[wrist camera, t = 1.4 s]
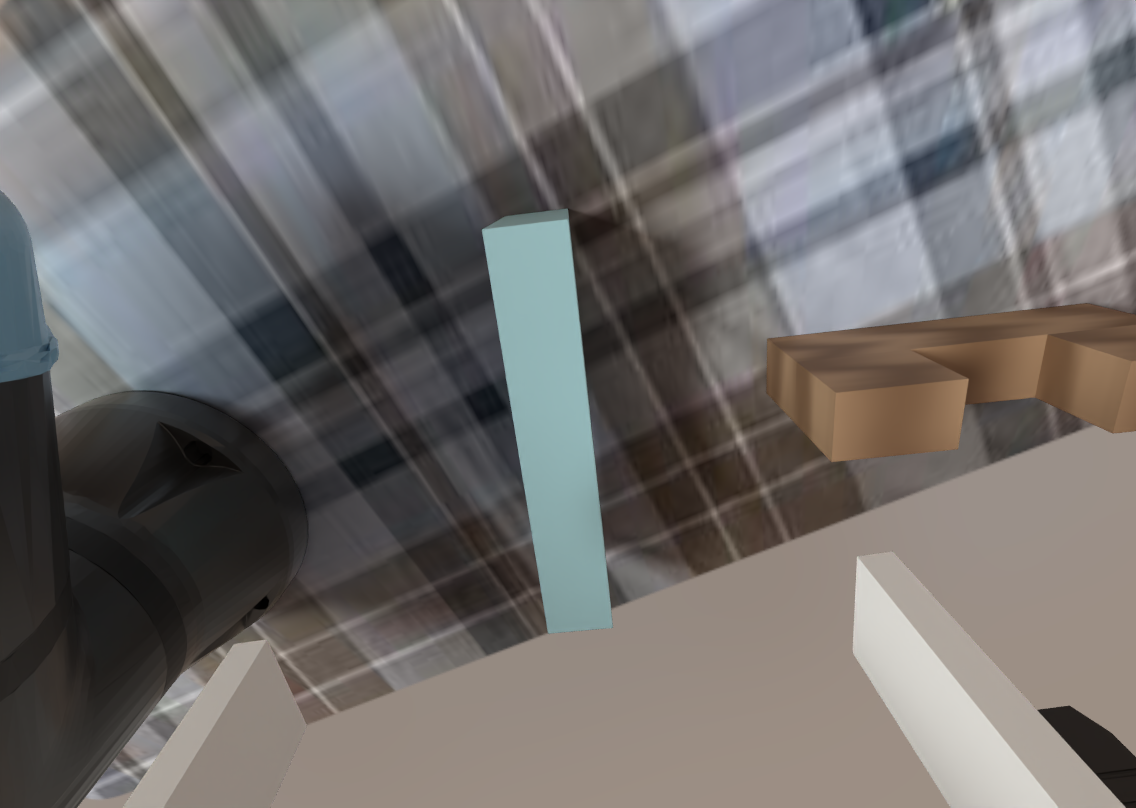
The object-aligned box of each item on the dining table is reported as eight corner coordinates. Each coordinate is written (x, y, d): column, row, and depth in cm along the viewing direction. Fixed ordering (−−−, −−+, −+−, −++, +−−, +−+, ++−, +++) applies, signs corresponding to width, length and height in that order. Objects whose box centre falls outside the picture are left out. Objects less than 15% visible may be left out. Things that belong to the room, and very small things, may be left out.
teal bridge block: (552, 533, 34) (548, 633, 26) (505, 216, 27) (481, 229, 20) (602, 528, 33) (613, 627, 26) (568, 208, 27) (568, 219, 19)
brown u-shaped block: (766, 392, 30) (831, 462, 23) (767, 338, 29) (836, 392, 22) (1074, 359, 30) (1244, 420, 22) (1086, 303, 29) (1270, 346, 21)
